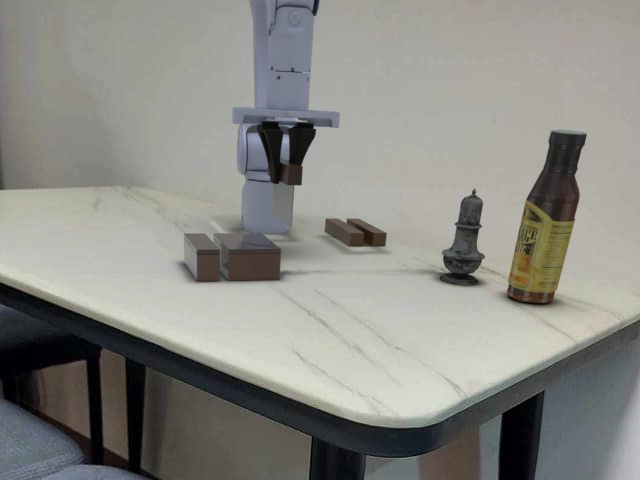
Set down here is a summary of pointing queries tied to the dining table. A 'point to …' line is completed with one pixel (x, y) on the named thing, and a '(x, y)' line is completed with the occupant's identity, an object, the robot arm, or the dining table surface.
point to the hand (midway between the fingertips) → (283, 183)
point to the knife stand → (355, 232)
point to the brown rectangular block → (202, 257)
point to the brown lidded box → (248, 256)
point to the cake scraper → (286, 190)
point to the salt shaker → (465, 244)
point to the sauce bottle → (547, 222)
